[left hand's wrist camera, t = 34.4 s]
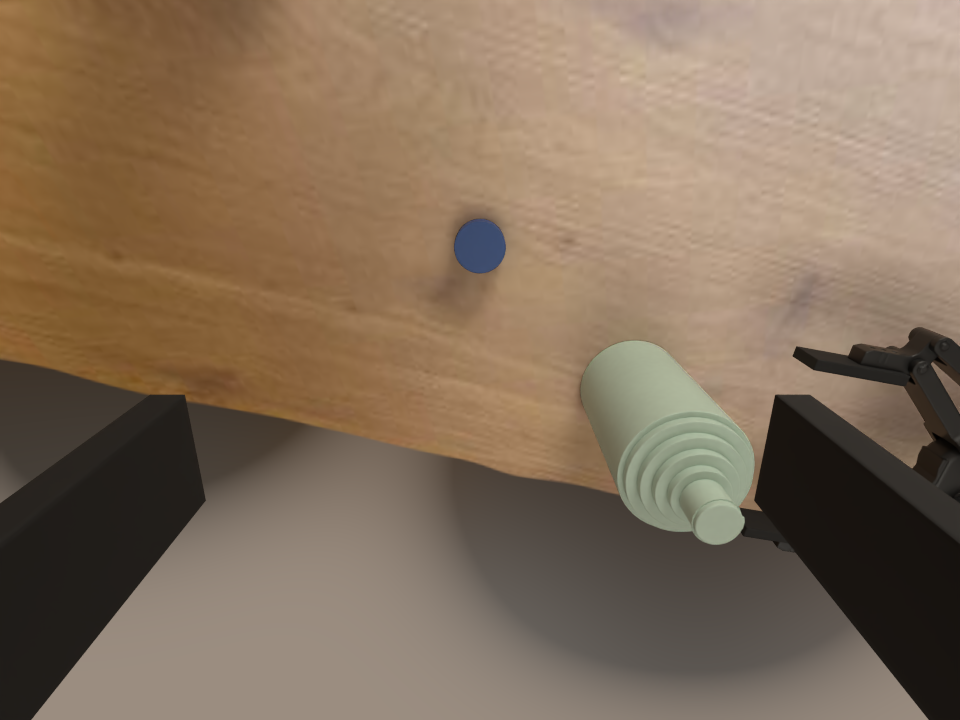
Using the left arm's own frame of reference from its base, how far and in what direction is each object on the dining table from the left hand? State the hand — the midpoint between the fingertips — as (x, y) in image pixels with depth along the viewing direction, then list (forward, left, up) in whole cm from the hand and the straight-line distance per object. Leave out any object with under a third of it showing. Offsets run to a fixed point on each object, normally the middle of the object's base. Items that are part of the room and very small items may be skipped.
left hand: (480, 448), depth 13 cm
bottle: (+16, -6, -31) cm, 36 cm away
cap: (0, 0, -30) cm, 30 cm away
